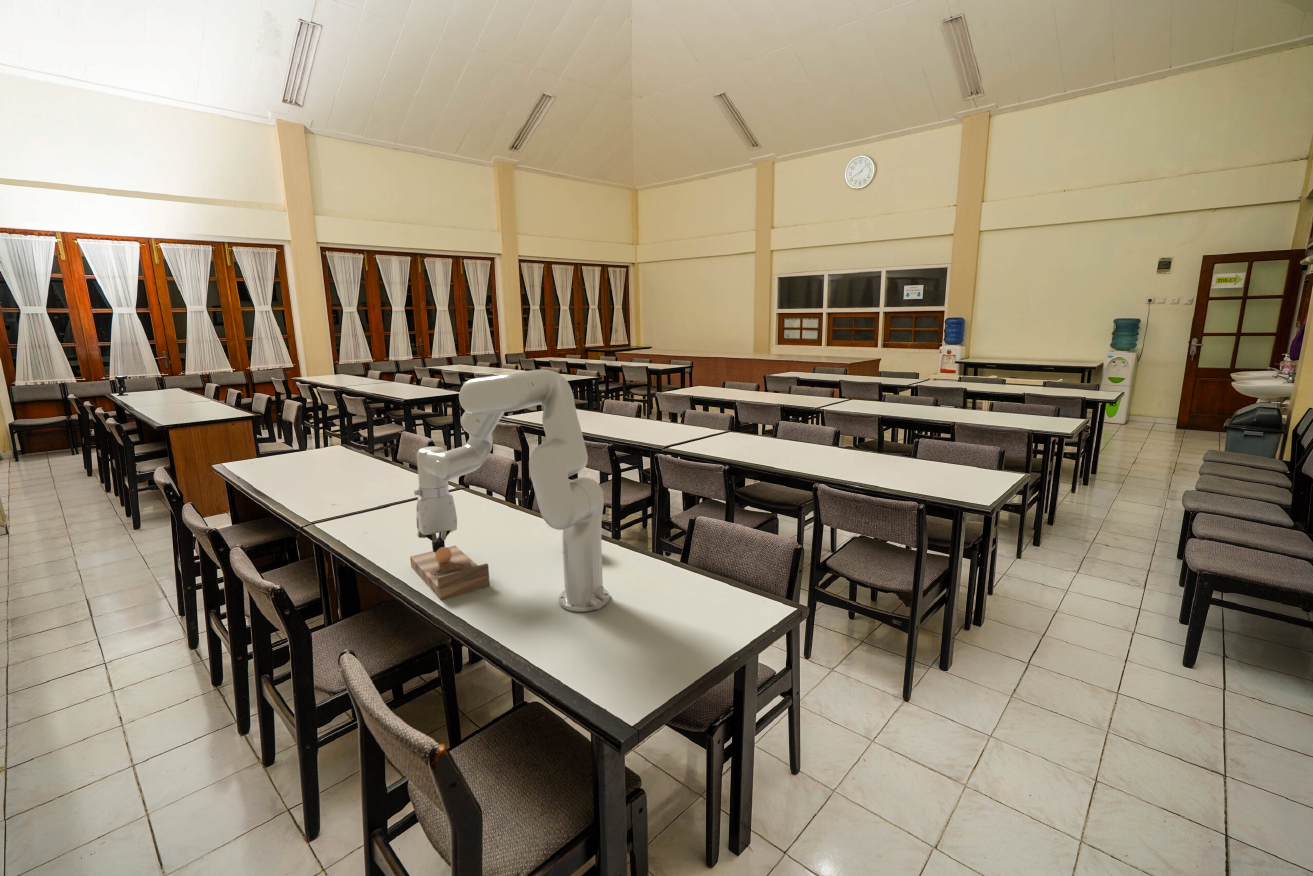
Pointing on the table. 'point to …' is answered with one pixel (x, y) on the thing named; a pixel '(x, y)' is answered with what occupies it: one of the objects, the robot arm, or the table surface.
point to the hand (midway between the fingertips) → (439, 553)
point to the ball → (443, 554)
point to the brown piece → (450, 573)
